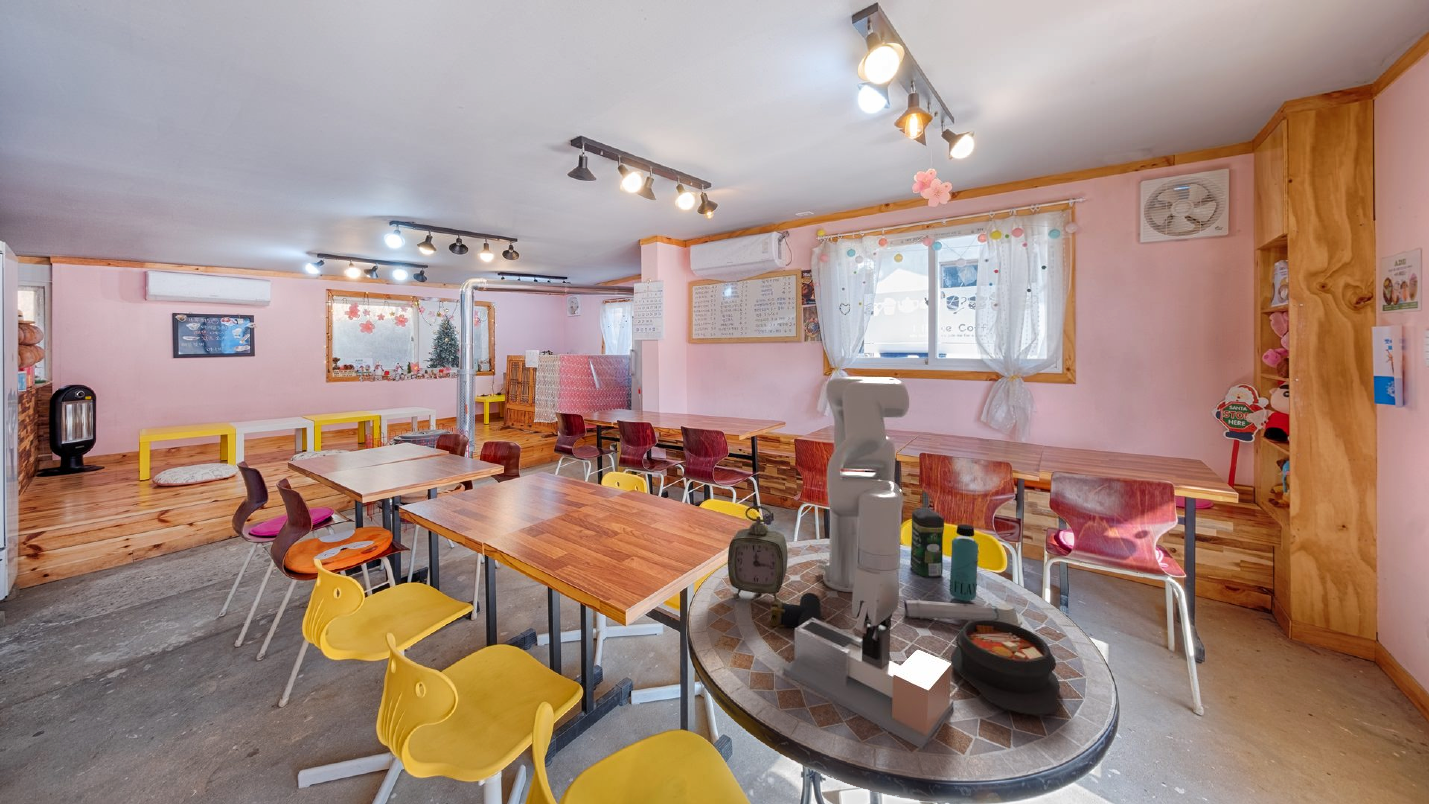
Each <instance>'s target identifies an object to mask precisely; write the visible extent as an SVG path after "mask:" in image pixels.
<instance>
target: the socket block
mask: <svg viewBox="0 0 1429 804" xmlns="http://www.w3.org/2000/svg"><path fill="white" fill-rule="evenodd" d="M900 666H901V667H900V668H899V669H898V670H897V671H896V672H895V673H894V674H893V699H892V718H894V719H896V720H898V721H900V722H902V723H904V724H906V725H907V726H909V727H911V728H913V729H915V730H917V731H919V732H921V733H923V734H925V735H926V736H927V735H928V733H929V732H930V731H931V729H932V728H933V727H934V725H935V724H936V723H937V721H938V720H939V719H940V717H941V716H942V715H943V713H944V712H945V711H946V710H947V708H948V707H949V703H950V699H951V697H950V696H951V677H952V675H951V674H952V671H951V670H952V662H948V661H946V660H944V659H942V658H939V657H936V656H934V655H931V654H929V653H926V652H924V651H922V650H919V649H917V650H916V651H914V653H913V654H912V655H911V656H910V657H909V658H907V660H906V661H904V662H903V664H901V665H900Z"/></svg>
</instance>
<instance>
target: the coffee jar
mask: <svg viewBox="0 0 1429 804" xmlns="http://www.w3.org/2000/svg"><path fill="white" fill-rule="evenodd" d="M944 530H945V518H944V517H943V516H942V515H941V514H940V513H938V512H937V511H935V510H933V509H931V508H930V507H917V508H915V509H914V510H913V511H912V513H911V542H910V544H911V545H910V547H911V548H910V549H911V550H910V564H909V565H910V567H911V568H912V570H913V571H914V573H916V574H917V575H919V576H922V577H927V578H937V577H941V576H942V575H943V567H944V566H943V565H944V564H943V561H944V560H943V559H944V558H943V553H944V552H943V550H944V546H943V545H944V544H943V542H944V541H943V539H944Z"/></svg>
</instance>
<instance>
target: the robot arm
mask: <svg viewBox="0 0 1429 804" xmlns="http://www.w3.org/2000/svg"><path fill="white" fill-rule="evenodd" d="M825 389H826V390H825V391H826V398H827V402H828V404H829V408H830V409H831V412H832V414H833V415H832V416H833V419H834V422H833V423H834V425H833V427H834V429H833V430H834V431H833V433H834V434H833V453H832V454H831V456H830V457H829V461H828V464H827V467H826V484H827V485H826V487H827V488H826V490H827V502H828V507H829V552H828V555H829V556H828V557H829V559H828V560H826V559H823V558H820V559H819V561H818V565H817V568H818V569H821V570H824V571H825V573H824V574H823V578H822V579H823V583H824V584H825V585H826V586H827V587H828V588H830V589H833V590H834V591H839V592H845V593H852V596H851V612H850V613H851V617H852V619H854V620H855V619H857V622H856V623H857V624H856V627H855V631H858V632H860V634H861V635H863V641H862V653H863V654H864V655H867V656H869V657H871V658H873V659H875V660H878V659H879V658H880V639H879V638H878V631H879V624H880V625H882V626H885V627H887V628H890V629H891V627H892V617H893V614H894V612H895V611H897V610H898V607H899V598H900V596H899V595H900V580H899V577H900V575H899V570H900V568H901V540H902V539H901V537H902V536H901V534H902V510H903V507H904V494H903V490H902V489H901V488H900V486H899V485H898V484H897V483H896V482H895V473H896V472H895V469H896V447H895V443H894V442H893V440H892V439H891V438H890V437H889V436H887V432H886V426H885V419H884V418H903V417H905V416H906V415H907V414H908V411H909V408H910V395H909V391H908V389H907V387H906V385H905V384H904V383H903V381H901V380H899V379H897V378H894V377H890V376H889V377H887V376H886V377H883V376H882V377H881V376H880V377H879V376H877V377H875V376H873V377H872V376H868V377H867V376H844V377H843V376H842V377H840V376H839V377H834V378H832V379H829V381H828V382H827V384H826V388H825ZM842 469H843V470H852V471H841V470H842ZM861 471H862V472H861ZM863 471H875V472H863ZM868 624H870V625H872V626H873V630H872V629H871V628H870V627H868V626H867V625H868Z"/></svg>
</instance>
